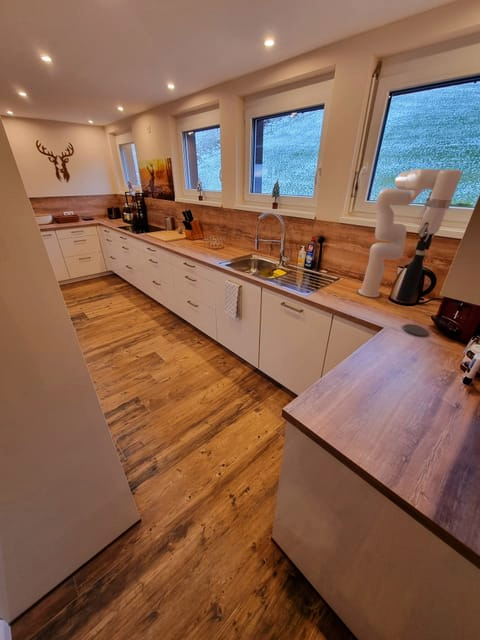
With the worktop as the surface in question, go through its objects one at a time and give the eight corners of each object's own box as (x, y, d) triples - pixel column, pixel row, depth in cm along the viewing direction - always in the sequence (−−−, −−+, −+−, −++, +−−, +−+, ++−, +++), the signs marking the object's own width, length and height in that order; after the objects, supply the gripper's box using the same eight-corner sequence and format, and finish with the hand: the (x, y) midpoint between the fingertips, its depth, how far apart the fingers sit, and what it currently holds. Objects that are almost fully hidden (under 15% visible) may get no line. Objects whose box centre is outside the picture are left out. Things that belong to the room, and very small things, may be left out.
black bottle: (408, 304, 124) (432, 239, 109) (393, 299, 128) (415, 236, 113) (413, 300, 127) (437, 237, 113) (399, 296, 131) (421, 234, 117)
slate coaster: (409, 323, 133) (409, 322, 133) (430, 332, 126) (431, 330, 126) (399, 329, 128) (400, 327, 127) (421, 338, 121) (422, 337, 120)
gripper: (436, 203, 114) (421, 245, 123) (419, 204, 105) (404, 250, 114) (456, 204, 108) (439, 249, 117) (440, 206, 100) (422, 254, 109)
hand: (422, 249), depth 115 cm, fingers closed on black bottle, 3 cm apart
